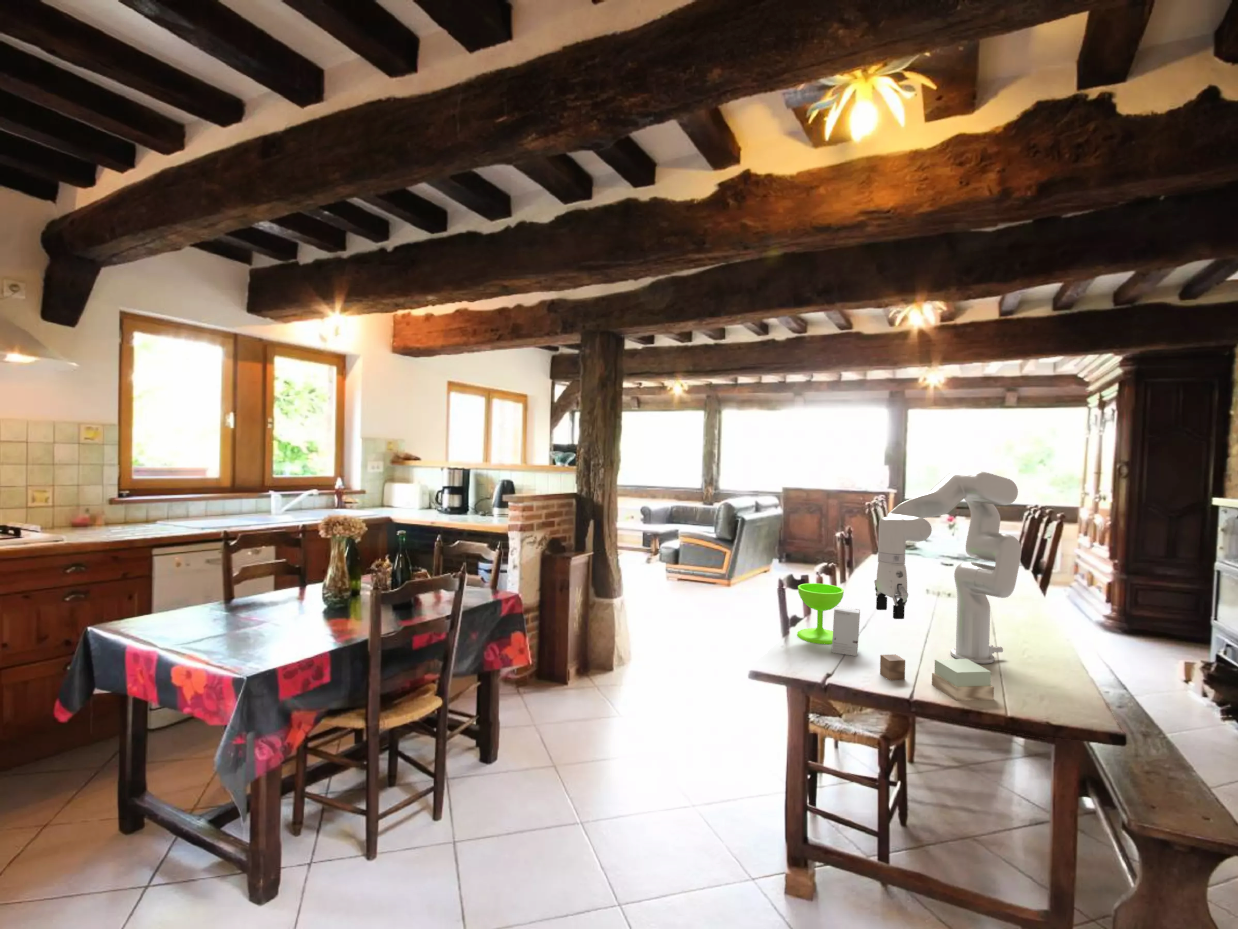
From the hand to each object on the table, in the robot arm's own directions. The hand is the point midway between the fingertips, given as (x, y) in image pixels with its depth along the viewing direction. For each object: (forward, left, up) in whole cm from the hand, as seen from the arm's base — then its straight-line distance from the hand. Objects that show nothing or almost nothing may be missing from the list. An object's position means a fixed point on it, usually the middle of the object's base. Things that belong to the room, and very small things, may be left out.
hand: (889, 614), depth 181 cm
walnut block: (-1, +1, -19) cm, 19 cm away
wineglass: (+5, -37, -19) cm, 42 cm away
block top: (-15, +13, -16) cm, 25 cm away
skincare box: (+3, -21, -19) cm, 29 cm away
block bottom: (-15, +13, -20) cm, 28 cm away
